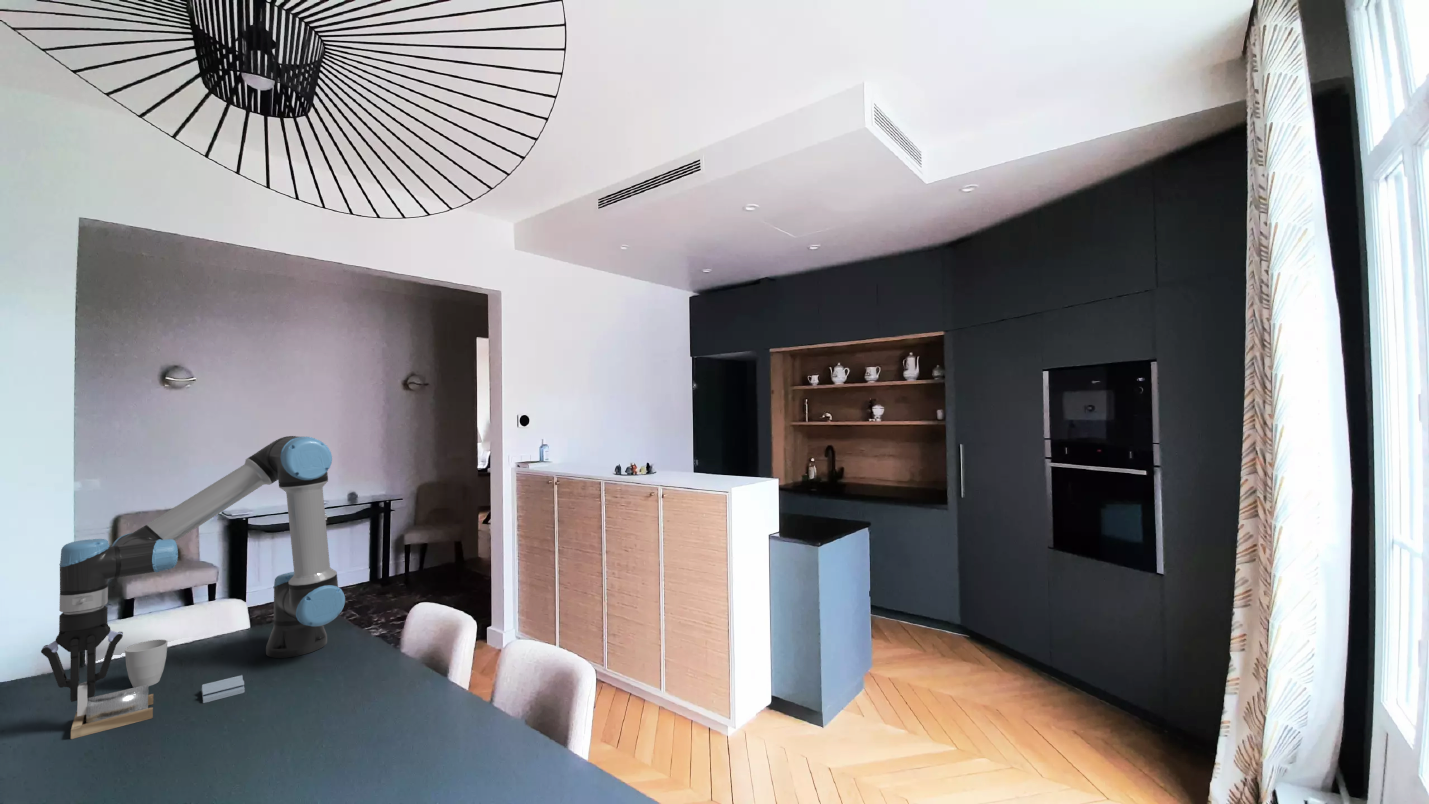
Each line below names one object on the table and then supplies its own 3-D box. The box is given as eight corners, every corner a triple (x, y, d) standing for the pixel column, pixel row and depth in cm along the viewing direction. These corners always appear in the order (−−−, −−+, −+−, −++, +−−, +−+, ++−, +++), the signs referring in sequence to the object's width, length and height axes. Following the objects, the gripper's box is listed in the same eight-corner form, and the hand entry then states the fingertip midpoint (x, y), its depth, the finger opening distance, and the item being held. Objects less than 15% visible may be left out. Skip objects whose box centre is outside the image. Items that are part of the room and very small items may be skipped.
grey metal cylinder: (85, 727, 132) (86, 699, 134) (88, 724, 136) (89, 697, 138) (147, 712, 139) (148, 685, 140) (148, 709, 143) (148, 683, 145)
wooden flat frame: (76, 720, 137) (76, 712, 137) (153, 701, 146) (153, 693, 146) (70, 739, 129) (70, 730, 129) (152, 718, 138) (152, 709, 138)
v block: (201, 691, 151) (201, 682, 151) (241, 681, 156) (241, 672, 156) (203, 703, 145) (203, 693, 145) (244, 692, 151) (244, 682, 151)
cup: (175, 677, 159) (176, 640, 159) (143, 691, 151) (144, 652, 151) (148, 675, 160) (149, 638, 160) (115, 690, 152) (115, 651, 152)
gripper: (38, 620, 127) (36, 730, 127) (123, 606, 136) (122, 709, 136) (43, 611, 133) (42, 717, 132) (125, 598, 141) (123, 697, 141)
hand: (82, 713), depth 134 cm, fingers closed
